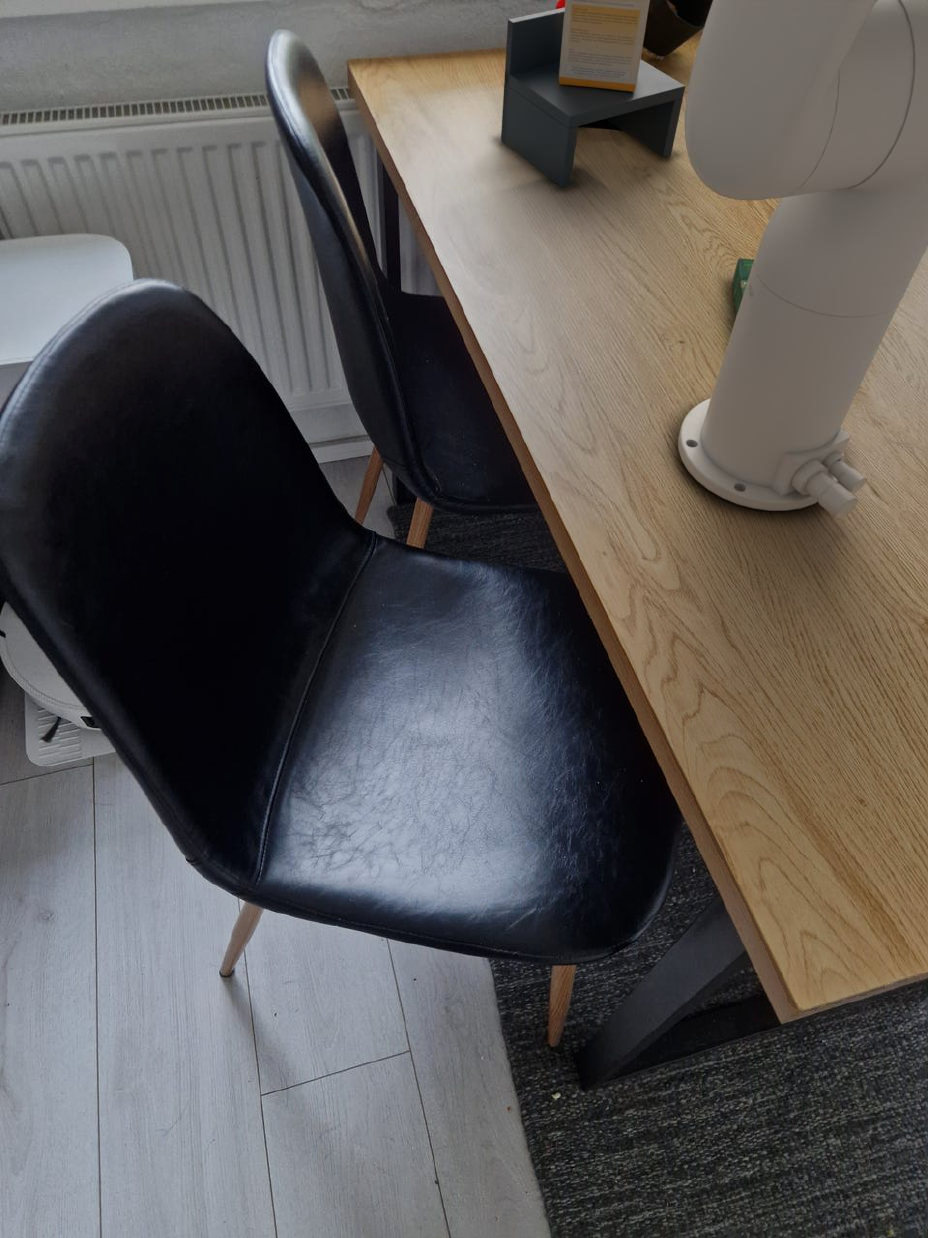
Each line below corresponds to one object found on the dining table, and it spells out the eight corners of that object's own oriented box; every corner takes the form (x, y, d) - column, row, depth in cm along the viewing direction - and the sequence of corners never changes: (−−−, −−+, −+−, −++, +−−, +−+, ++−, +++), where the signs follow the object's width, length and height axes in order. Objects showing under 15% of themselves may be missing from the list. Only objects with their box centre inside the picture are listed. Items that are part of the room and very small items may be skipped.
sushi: (720, -23, 109) (676, 13, 116) (669, -60, 105) (627, -20, 112) (709, 39, 108) (666, 72, 115) (657, 5, 104) (616, 41, 111)
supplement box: (638, 74, 94) (663, -77, 84) (634, 94, 91) (660, -60, 81) (561, 65, 95) (577, -85, 84) (555, 84, 92) (571, -69, 81)
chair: (671, 155, 98) (696, 33, 89) (561, 187, 94) (576, 63, 84) (606, 112, 104) (623, -6, 95) (500, 140, 100) (507, 19, 90)
